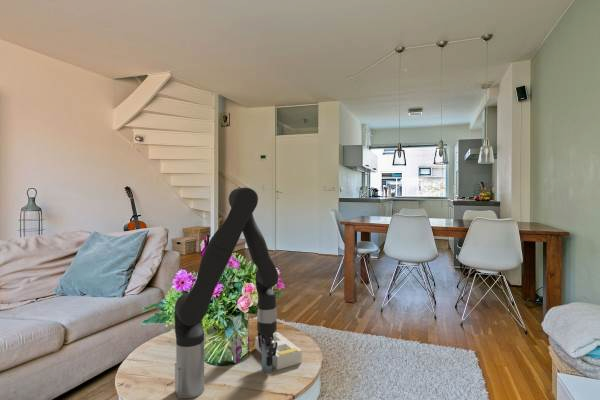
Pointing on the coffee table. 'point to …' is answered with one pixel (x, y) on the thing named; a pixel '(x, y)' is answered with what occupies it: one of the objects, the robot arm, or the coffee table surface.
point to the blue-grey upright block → (265, 360)
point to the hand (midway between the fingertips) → (267, 362)
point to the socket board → (283, 352)
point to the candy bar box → (238, 346)
